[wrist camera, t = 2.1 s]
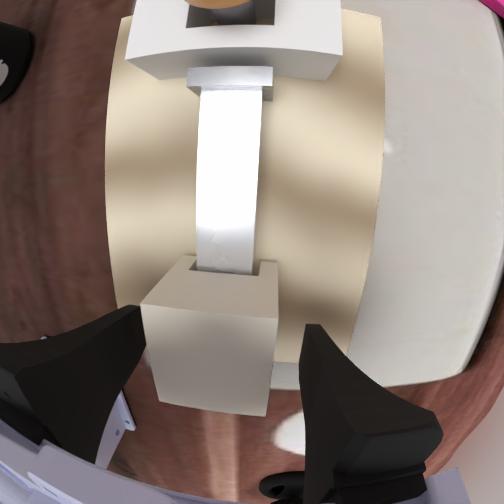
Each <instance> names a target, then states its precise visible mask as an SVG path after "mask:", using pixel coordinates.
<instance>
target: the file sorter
mask: <svg viewBox="0 0 504 504" xmlns="http://www.w3.org/2000/svg"><path fill="white" fill-rule="evenodd" d="M480 1H481V2H483V3H484V4H486V5H487V6H488V7H490V8H491V9H492V10H493V11H495V12H496V13H497V14H498V15H500V16H501V17H502V18H503V19H504V0H480Z"/></svg>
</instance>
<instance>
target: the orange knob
mask: <svg viewBox="0 0 504 504" xmlns="http://www.w3.org/2000/svg"><path fill="white" fill-rule="evenodd" d="M184 1H185V2H187V3H189V4H191V5H193V6H196V7H200V8H206V9H211V10H212V12H213V14H214V17H215V19H216V21H217V23H218V25H219V26H221V25H256V14H255V8H254V2H253V0H184Z"/></svg>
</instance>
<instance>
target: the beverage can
mask: <svg viewBox="0 0 504 504" xmlns="http://www.w3.org/2000/svg"><path fill="white" fill-rule="evenodd" d="M30 52H31V42H30V38H29V34H28V32H27V31H26V30H25V29H23V28H19V27H16V26H13V25H10V24H6V23H3V22H0V101H1V100H2V99H4V98H5V97H6V96H7V95H9V94H10V93H11V92H12V90H13V89H14V88H15V87H16V85H17V84H18V82H19V81H20V79H21V77H22V75H23V73H24V71H25V69H26V66H27V63H28V60H29V57H30Z"/></svg>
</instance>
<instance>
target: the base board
mask: <svg viewBox="0 0 504 504" xmlns="http://www.w3.org/2000/svg"><path fill="white" fill-rule="evenodd" d="M132 19H133V15H132V16H128V17H125V18H122V20H121V24H120V28H119V33H118V38H117V43H116V48H115V54H114V60H113V66H112V73H111V80H110V89H109V98H108V109H107V122H106V142H105V195H106V215H107V230H108V241H109V251H110V260H111V268H112V275H113V282H114V288H115V295H116V301H117V306H118V309H119V308H121V307H124V306H126V305H129V304H130V305H136V306H140V303H141V302H142V300H143V299H144V298H145V297H146V296H147V295H148V294H149V292H150V291H151V290H152V289H153V288H154V287H155V286H156V284H157V283H158V282H159V281H160V280H161V279H162V278H163V277H164V276H165V274H166V273H167V272H168V271H169V270H170V269H171V268H172V267H173V266H174V264H175V263H176V262H177V261H178V260H179V259H180V258H181V257H182V256H183V255H189V256H197V255H196V201H197V161H198V137H199V119H200V103H201V98H200V97H199V96H197V95H196V94H195V93H193V92H192V91H191V90H190V89H188V88H187V87H186V80H187V77H184V78H173V79H164V80H158V79H157V78H155V77H153V76H152V75H150V74H148V73H147V72H145V71H143V70H142V69H140V68H138V67H136V66H135V65H133V64H131V63H130V62H128V61H126V60H125V55H126V49H127V44H128V38H129V33H130V28H131V23H132ZM341 20H342V43H343V56H342V57H341V59H340V60H339V62H338V63H337V65H336V66H335V68H334V69H333V71H332V72H331V74H330V75H329V77H328V78H327V80H326V81H319V80H311V79H301V78H291V77H277V76H273V102H272V101H264V108H263V127H262V145H261V163H260V181H259V199H258V216H257V233H256V251H255V268H254V276H259V270H260V263H261V261H267V262H278V316H279V319H278V327H277V336H276V344H275V352H274V360H273V362H291V363H299V358H300V352H301V347H302V342H303V336H304V331H305V325H306V324H320V325H321V326H322V327H323V328H324V330H325V331H326V332H327V334H328V335H329V336H330V337H331V339H332V340H333V341H334V343H335V344H336V345H337V346H338V347H339V349H340V350H341V351H342V352H343V353H344V354H345V355H346V354H347V350H348V347H349V343H350V340H351V336H352V333H353V329H354V325H355V321H356V318H357V314H358V310H359V305H360V301H361V297H362V293H363V288H364V284H365V279H366V274H367V269H368V264H369V259H370V253H371V248H372V242H373V236H374V230H375V223H376V216H377V209H378V201H379V192H380V183H381V173H382V161H383V146H384V125H385V73H384V52H383V39H382V28H381V19H380V17H376V16H373V15H369V14H365V13H360V12H356V11H351V10H346V9H341ZM274 23H275V19H256V25H274ZM211 26H219V25H218V23H217V21H216V20H211ZM146 345H147V344H146Z"/></svg>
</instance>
